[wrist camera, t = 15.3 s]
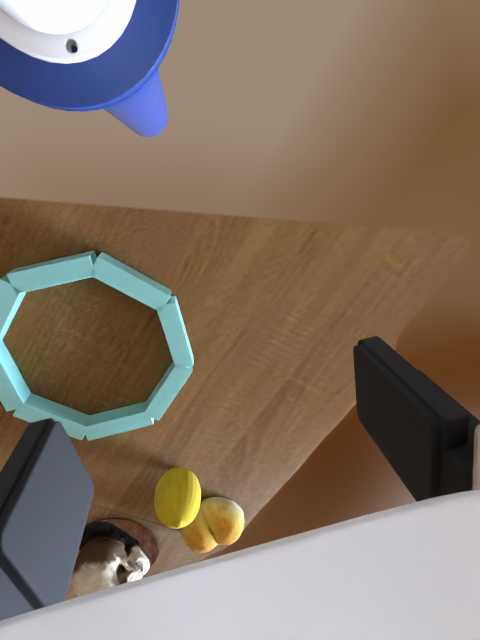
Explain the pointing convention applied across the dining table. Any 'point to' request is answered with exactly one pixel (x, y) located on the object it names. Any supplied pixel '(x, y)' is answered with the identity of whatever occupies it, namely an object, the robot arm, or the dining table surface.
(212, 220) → the dining table surface
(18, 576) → the robot arm
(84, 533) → the iced cupcake on saucer
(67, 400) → the dining table surface
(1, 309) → the ring
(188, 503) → the lemon
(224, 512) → the bread roll
